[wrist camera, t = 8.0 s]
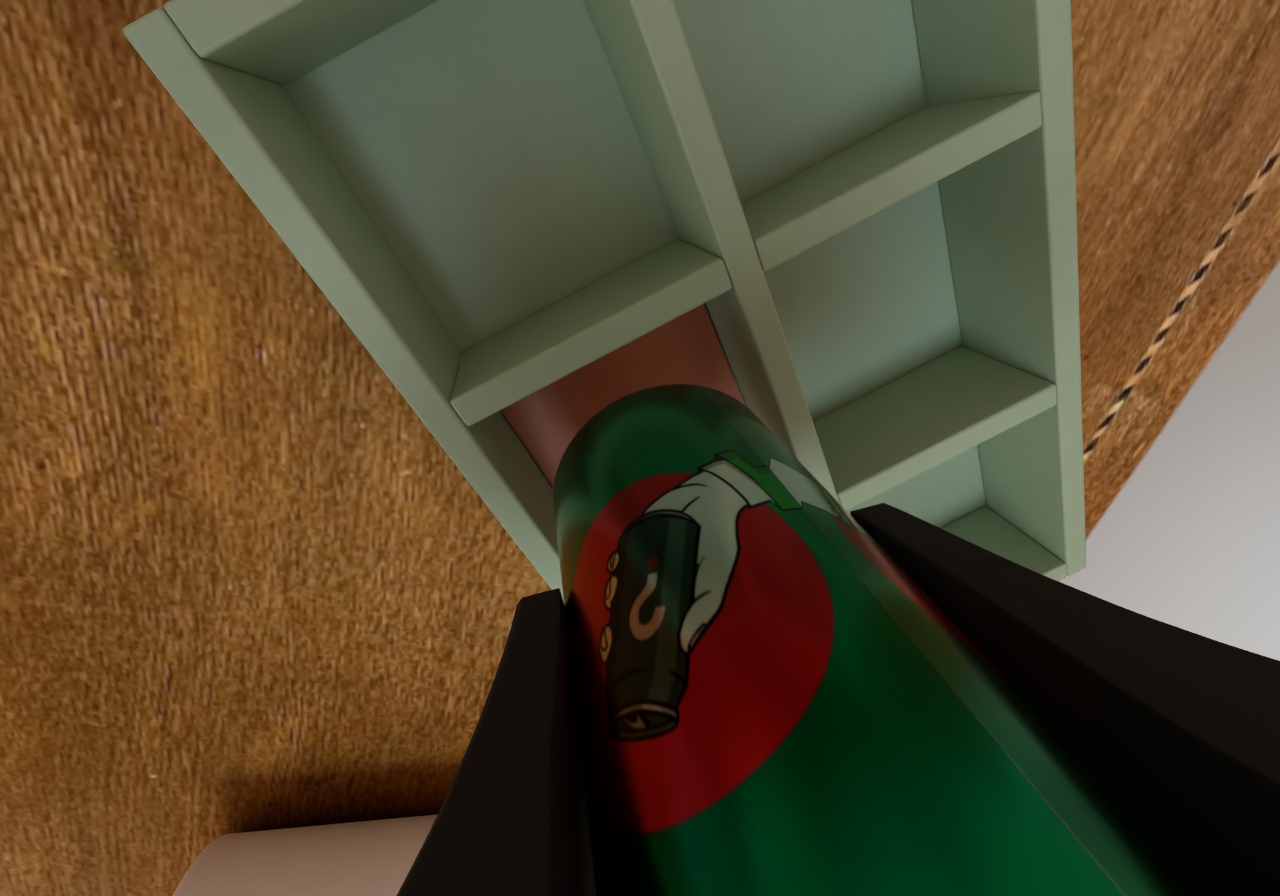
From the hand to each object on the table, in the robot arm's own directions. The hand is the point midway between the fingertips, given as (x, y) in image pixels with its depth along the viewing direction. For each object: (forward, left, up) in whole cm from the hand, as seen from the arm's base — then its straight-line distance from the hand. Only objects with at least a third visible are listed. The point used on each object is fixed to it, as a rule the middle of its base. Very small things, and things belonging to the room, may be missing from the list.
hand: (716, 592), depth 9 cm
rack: (+3, 0, -8) cm, 9 cm away
